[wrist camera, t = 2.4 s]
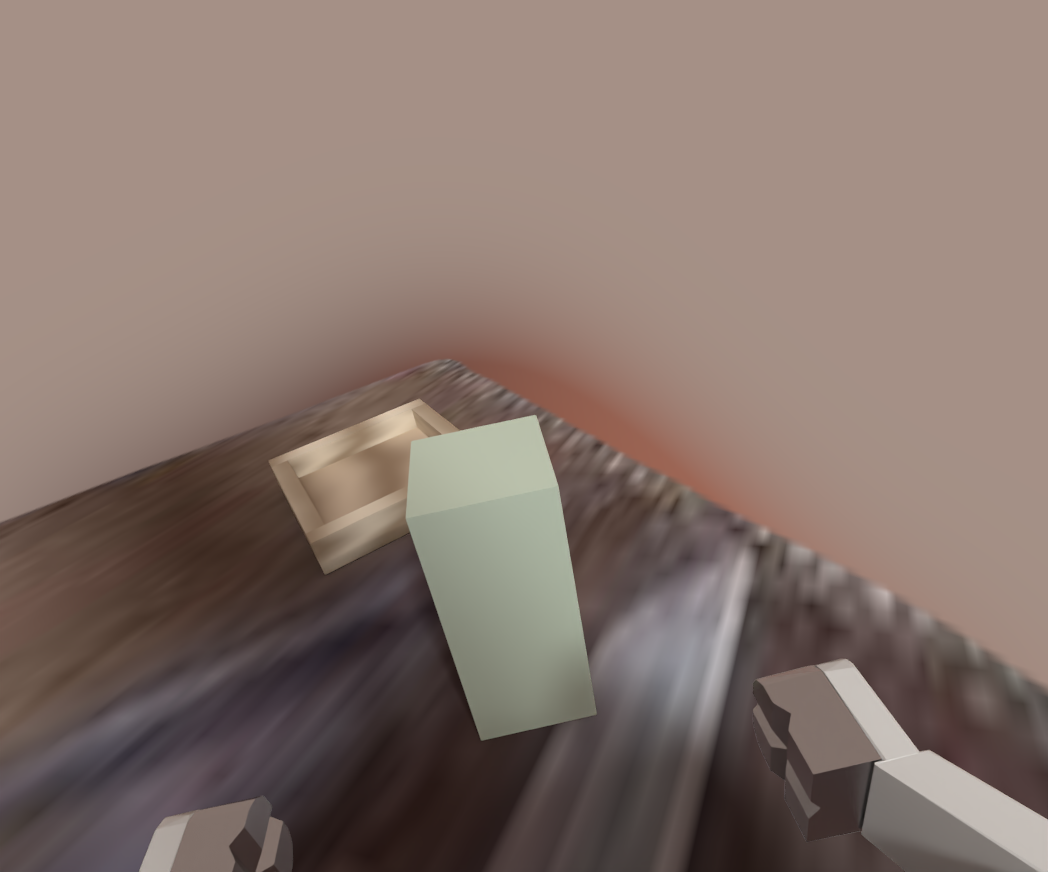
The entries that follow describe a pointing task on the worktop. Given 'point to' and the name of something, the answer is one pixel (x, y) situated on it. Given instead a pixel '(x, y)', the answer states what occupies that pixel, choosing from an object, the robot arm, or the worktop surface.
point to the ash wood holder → (356, 483)
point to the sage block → (501, 574)
